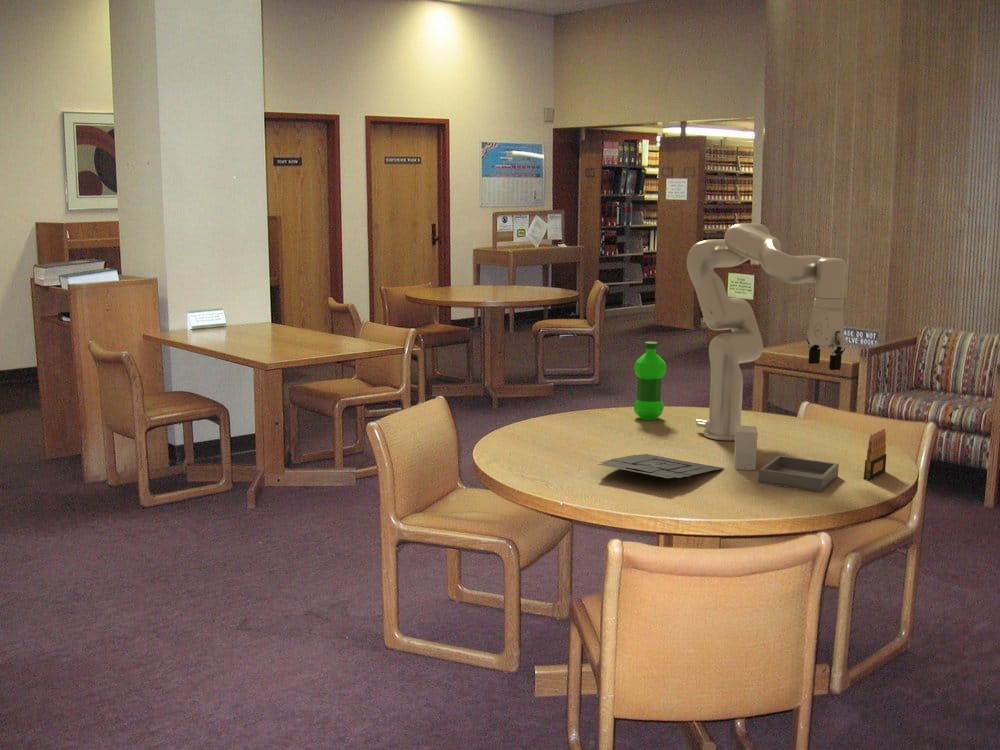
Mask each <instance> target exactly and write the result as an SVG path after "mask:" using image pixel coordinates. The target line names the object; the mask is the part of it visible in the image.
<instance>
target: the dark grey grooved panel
mask: <svg viewBox="0 0 1000 750" xmlns="http://www.w3.org/2000/svg"><path fill="white" fill-rule="evenodd" d="M597 466H602V467H603V466H604V467H606V468H607V467H608V468H613V469H618V470H624V471H629V472H634V473H640V474H643V475H644V474H645V475H650V476H654V477H658V478H659V477H660V478H664V479H671V478H672V479H673V478H678V479H679V478H684V477H686V478H687V477H693V476H694V475H699V474H703V473H708V472H712V471H718V470H722V469H724V467H720V466H714V465H710V464H702V463H697V462H690V461H685V460H680V459H675V458H670V457H664V456H659V455H653V454H649V453H644V454H632V455H628V456H627V455H626V456H622V457H615V458H610V459H608V460H607V459H606V460H604V461H601V462H599V464H597Z"/></svg>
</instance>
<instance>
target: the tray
mask: <svg viewBox="0 0 1000 750" xmlns="http://www.w3.org/2000/svg"><path fill="white" fill-rule="evenodd" d="M839 466H840V463H836V462H830V461H824V460H823V461H822V460H817V459H816V460H814V459H809V458H803V457H802V458H801V457H794V456H787V455H780V454H778V455H776V456H775V457H774V458H773V459H771V460H769V462H767V463H766V464H764V465H763V466H762V467H760V469H759V470H758V484H759V483H760V484H763V483H764V485H770V484H771V486H776V485H779V486H778V487H783V486H785V487H784V488H789V487H791V488H790V489H795V488H798V489H797V490H802V489H805V490H804V491H808V490H811V491H810V492H815V491H818V492H817V493H821V492H822V491H823V490H824V489H825V488H826V487H827V486H828V485H829V486H830V485H831V484H832V483H833V482H834V481H835V480H836V479H837V478H838V477H839V469H840V468H839ZM829 486H828V487H829ZM828 487H827V488H828ZM827 488H826V489H827ZM826 489H825V490H826ZM825 490H824V491H825ZM824 491H823V492H824ZM823 492H822V493H823Z"/></svg>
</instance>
